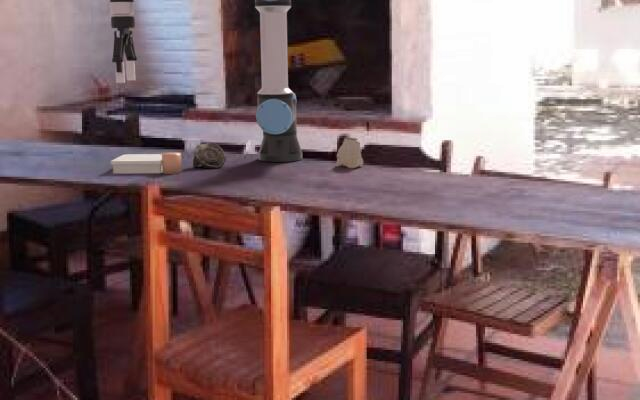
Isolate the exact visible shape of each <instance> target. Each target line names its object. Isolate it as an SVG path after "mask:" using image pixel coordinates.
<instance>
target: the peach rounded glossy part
mask: <svg viewBox="0 0 640 400" xmlns="http://www.w3.org/2000/svg"><path fill="white" fill-rule="evenodd" d="M161 154H162V169H163V172H162V174H166V175H175V174H181V173H182V172H183V171H182V169H183V168H182V152H177V151H176V152H174V151H173V152H162V153H161Z"/></svg>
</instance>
